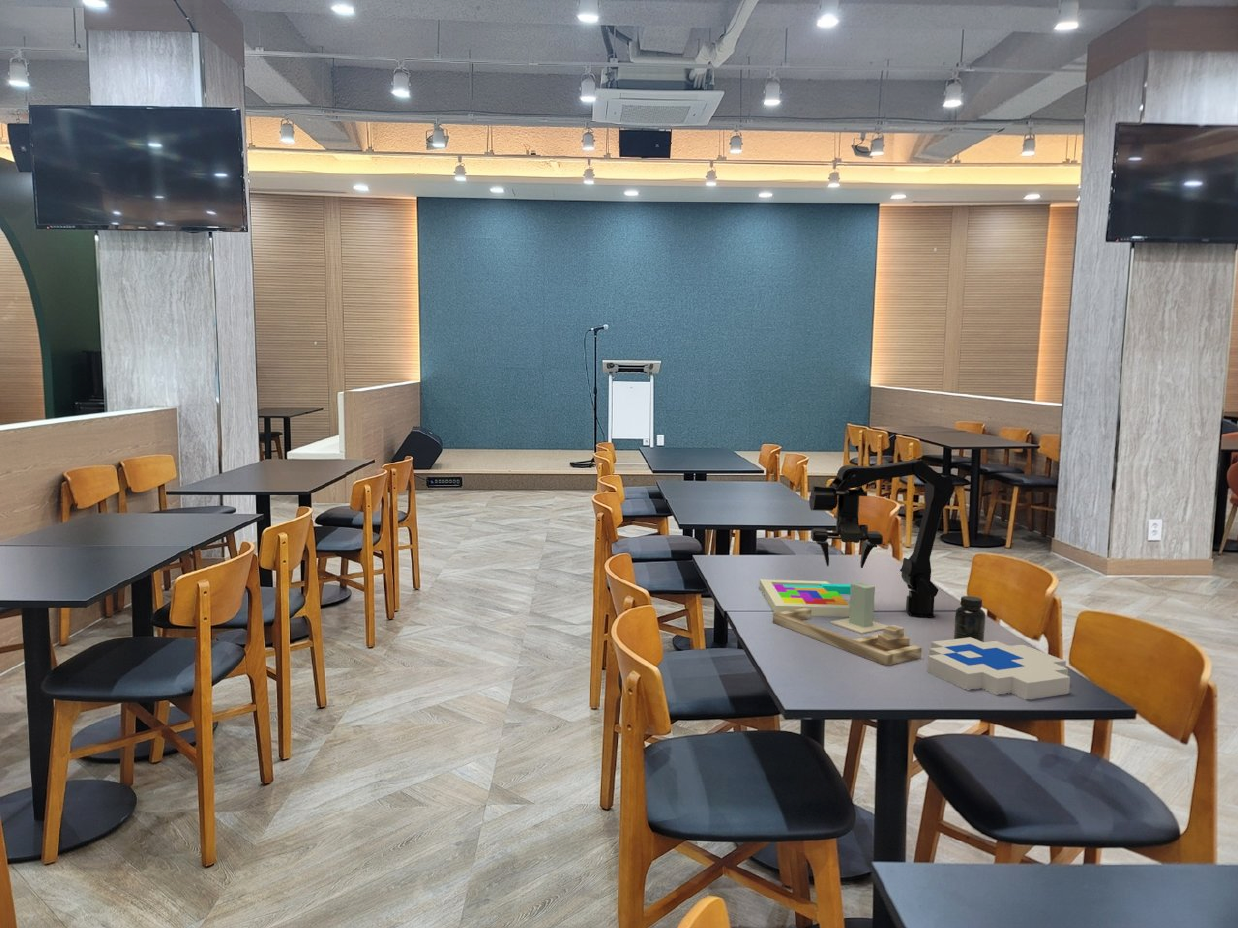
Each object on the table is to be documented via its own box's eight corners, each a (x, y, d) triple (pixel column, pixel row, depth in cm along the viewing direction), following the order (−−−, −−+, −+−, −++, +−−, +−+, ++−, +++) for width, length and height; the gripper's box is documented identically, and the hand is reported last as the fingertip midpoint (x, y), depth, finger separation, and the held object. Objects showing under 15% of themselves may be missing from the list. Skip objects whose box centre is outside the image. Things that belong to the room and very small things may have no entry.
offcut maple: (892, 632, 204) (892, 624, 204) (903, 635, 202) (904, 627, 202) (882, 636, 201) (883, 628, 201) (894, 639, 199) (895, 631, 199)
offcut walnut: (895, 649, 206) (896, 639, 205) (911, 656, 201) (912, 645, 201) (874, 653, 202) (874, 643, 202) (889, 659, 198) (890, 649, 198)
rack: (805, 616, 231) (806, 607, 230) (920, 657, 199) (921, 647, 198) (772, 622, 224) (773, 613, 224) (886, 665, 192) (886, 655, 192)
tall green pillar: (858, 620, 226) (860, 582, 225) (872, 625, 222) (875, 586, 221) (848, 622, 225) (851, 583, 224) (863, 627, 220) (865, 588, 219)
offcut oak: (899, 641, 204) (899, 633, 204) (909, 646, 200) (909, 638, 200) (877, 642, 203) (878, 634, 202) (887, 647, 199) (887, 639, 199)
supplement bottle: (973, 641, 213) (976, 594, 212) (989, 649, 206) (992, 601, 205) (948, 641, 212) (951, 594, 210) (963, 650, 205) (966, 602, 204)
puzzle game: (775, 616, 232) (884, 619, 232) (775, 605, 232) (885, 609, 231) (759, 588, 262) (856, 591, 262) (759, 579, 262) (856, 582, 261)
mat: (858, 617, 231) (858, 616, 231) (890, 628, 222) (890, 626, 222) (829, 622, 225) (829, 621, 225) (861, 634, 216) (861, 632, 216)
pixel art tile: (997, 687, 171) (904, 644, 197) (996, 706, 171) (902, 661, 197) (1097, 672, 181) (996, 634, 207) (1096, 690, 181) (995, 650, 207)
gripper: (817, 514, 225) (813, 571, 227) (888, 517, 223) (885, 575, 225) (812, 508, 236) (809, 562, 238) (880, 511, 234) (876, 566, 236)
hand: (844, 566), depth 234 cm, fingers open, 9 cm apart
